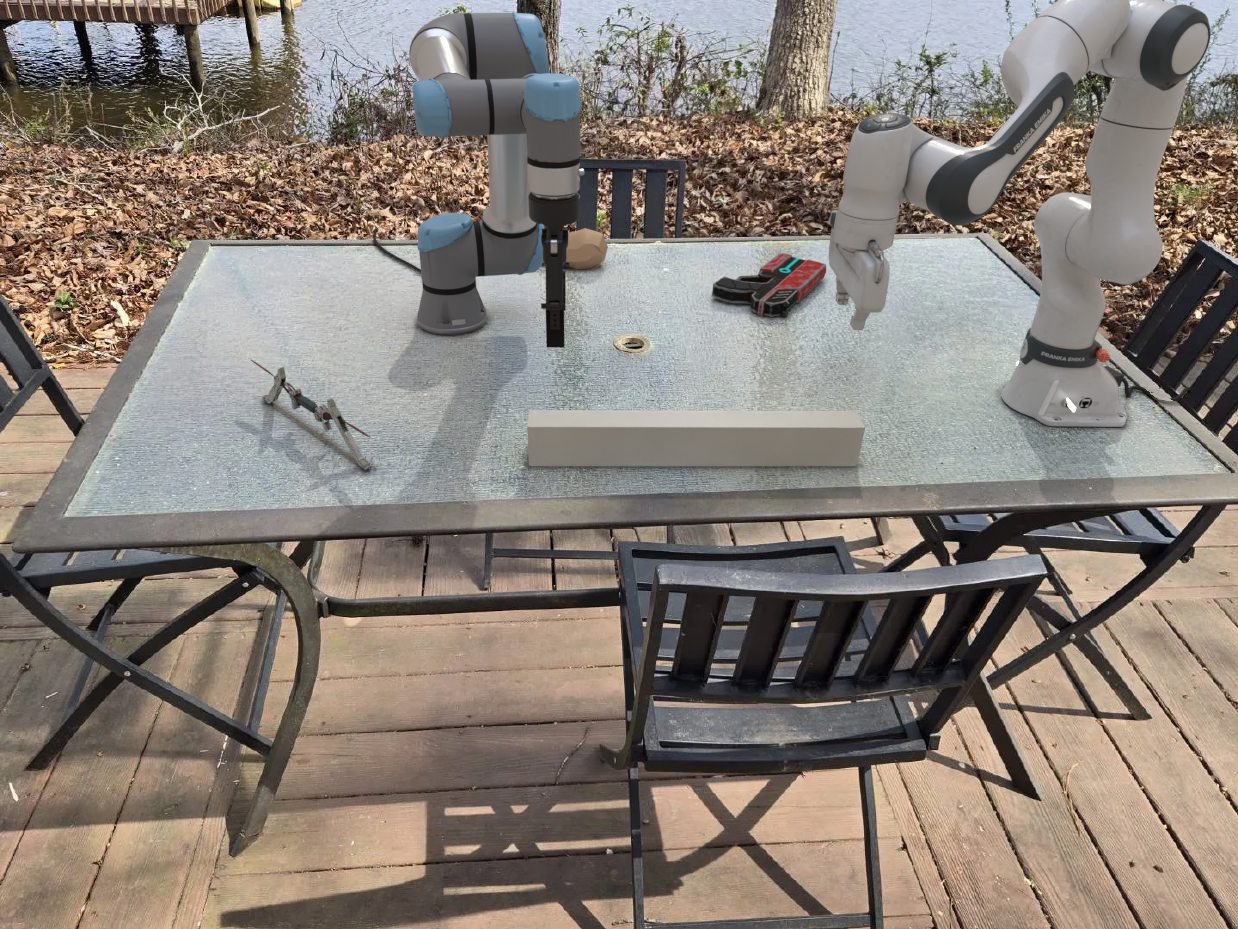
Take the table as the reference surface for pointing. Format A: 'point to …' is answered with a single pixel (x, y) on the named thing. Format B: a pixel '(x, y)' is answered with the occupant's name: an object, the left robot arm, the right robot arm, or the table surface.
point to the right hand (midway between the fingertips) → (848, 315)
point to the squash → (585, 249)
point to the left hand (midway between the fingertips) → (556, 327)
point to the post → (693, 438)
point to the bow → (316, 413)
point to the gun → (772, 285)
